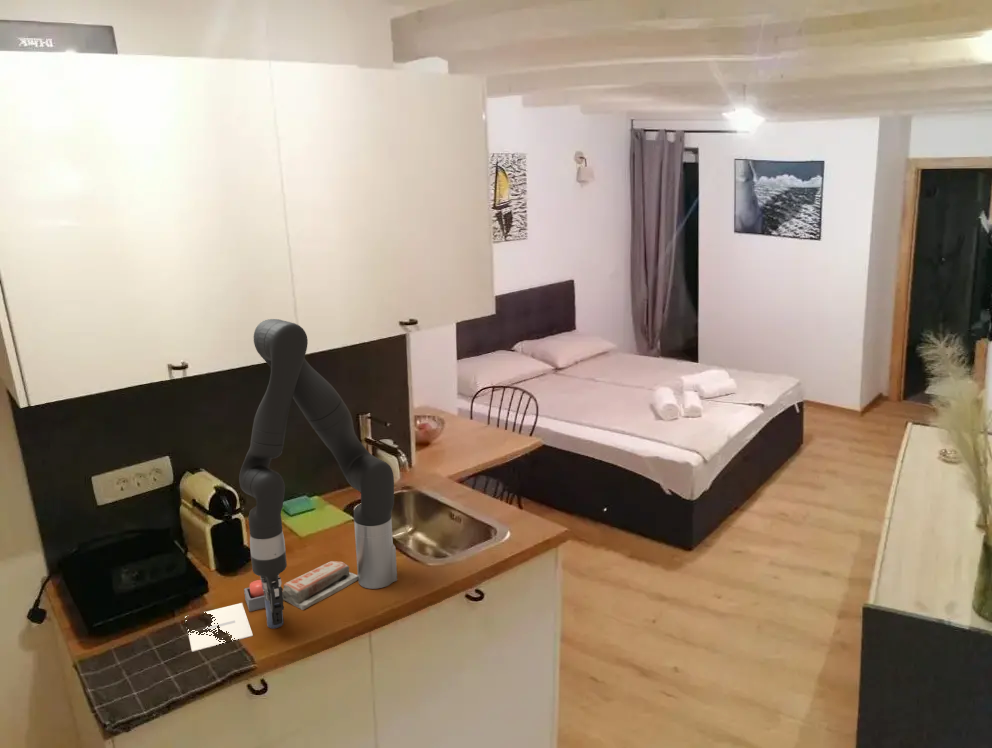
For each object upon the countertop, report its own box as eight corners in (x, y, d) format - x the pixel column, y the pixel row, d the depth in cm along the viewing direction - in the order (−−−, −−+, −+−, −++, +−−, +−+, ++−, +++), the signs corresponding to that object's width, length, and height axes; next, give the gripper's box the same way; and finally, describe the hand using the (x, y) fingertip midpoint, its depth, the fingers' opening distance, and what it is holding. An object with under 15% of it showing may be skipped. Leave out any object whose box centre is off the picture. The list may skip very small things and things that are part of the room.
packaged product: (301, 594, 186) (275, 581, 192) (302, 612, 187) (277, 598, 193) (358, 564, 200) (332, 552, 206) (359, 581, 201) (334, 569, 207)
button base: (270, 593, 195) (269, 582, 194) (275, 605, 190) (273, 594, 189) (245, 599, 192) (244, 588, 191) (249, 611, 187) (248, 600, 186)
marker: (281, 618, 184) (278, 583, 182) (284, 625, 181) (281, 591, 179) (266, 622, 183) (262, 587, 180) (269, 630, 180) (265, 595, 177)
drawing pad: (242, 603, 190) (241, 602, 190) (252, 635, 177) (252, 635, 177) (185, 617, 185) (184, 616, 185) (192, 652, 172) (191, 651, 172)
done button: (266, 589, 193) (265, 578, 192) (269, 597, 189) (268, 585, 189) (249, 593, 191) (248, 582, 190) (252, 601, 188) (251, 590, 187)
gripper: (291, 560, 172) (297, 627, 177) (278, 533, 185) (284, 596, 189) (256, 568, 169) (263, 636, 174) (245, 540, 182) (252, 604, 186)
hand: (274, 615), depth 181 cm, fingers open, 6 cm apart
